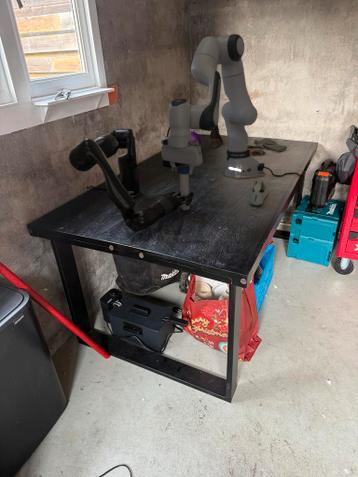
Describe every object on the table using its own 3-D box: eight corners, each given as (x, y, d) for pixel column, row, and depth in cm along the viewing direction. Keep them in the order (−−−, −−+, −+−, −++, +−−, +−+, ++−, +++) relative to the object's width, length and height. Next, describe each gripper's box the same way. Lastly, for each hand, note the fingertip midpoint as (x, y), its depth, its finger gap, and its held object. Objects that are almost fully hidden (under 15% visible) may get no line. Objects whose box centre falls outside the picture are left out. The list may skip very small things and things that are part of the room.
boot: (223, 140, 259) (224, 113, 249) (220, 148, 239) (221, 119, 229) (212, 140, 261) (212, 113, 251) (208, 148, 241) (208, 120, 231)
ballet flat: (269, 188, 169) (270, 173, 165) (265, 208, 149) (266, 191, 145) (252, 187, 171) (253, 172, 167) (246, 206, 151) (247, 190, 147)
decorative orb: (204, 151, 235) (204, 129, 228) (194, 156, 225) (193, 134, 217) (186, 149, 243) (186, 128, 235) (175, 154, 232) (174, 132, 224)
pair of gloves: (252, 157, 216) (252, 149, 214) (231, 148, 237) (231, 141, 234) (288, 150, 226) (289, 142, 223) (266, 142, 247) (266, 135, 244)
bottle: (190, 206, 155) (188, 167, 146) (189, 210, 152) (188, 170, 142) (181, 206, 156) (179, 167, 146) (181, 210, 152) (179, 170, 143)
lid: (176, 173, 144) (176, 169, 143) (181, 170, 148) (181, 165, 147) (186, 174, 142) (186, 170, 141) (191, 171, 146) (191, 166, 145)
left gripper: (178, 201, 135) (201, 188, 147) (152, 195, 143) (175, 182, 154) (179, 217, 139) (201, 203, 150) (153, 210, 146) (176, 197, 158)
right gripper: (205, 141, 135) (205, 174, 142) (167, 136, 146) (169, 167, 153) (196, 145, 131) (197, 178, 138) (158, 140, 142) (160, 170, 149)
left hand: (188, 193), depth 152 cm, fingers closed on bottle, 4 cm apart
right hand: (182, 172), depth 146 cm, fingers open, 7 cm apart
